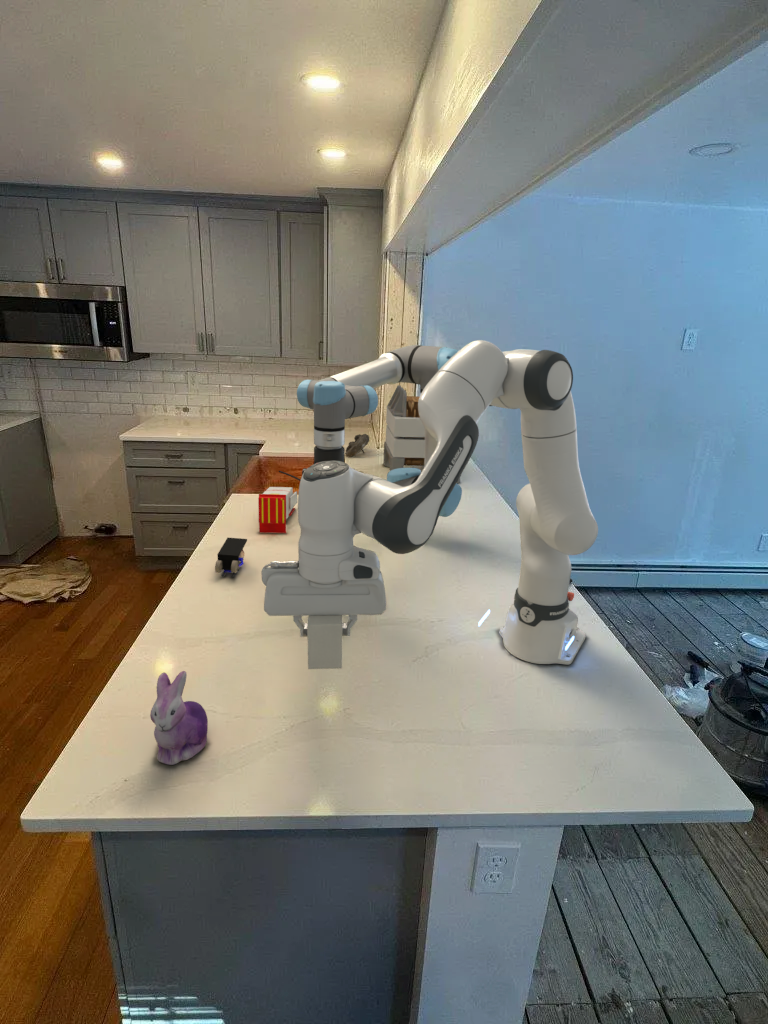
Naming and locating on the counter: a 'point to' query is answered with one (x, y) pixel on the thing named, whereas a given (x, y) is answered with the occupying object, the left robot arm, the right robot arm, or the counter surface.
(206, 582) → the counter surface
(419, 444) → the transformer
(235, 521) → the counter surface
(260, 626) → the counter surface
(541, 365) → the right robot arm
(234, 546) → the black wheeled rover
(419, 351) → the left robot arm
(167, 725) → the figurine
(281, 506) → the toy
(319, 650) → the post
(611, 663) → the counter surface
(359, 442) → the fossil
